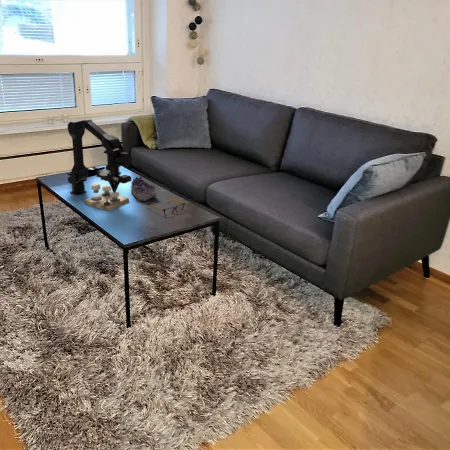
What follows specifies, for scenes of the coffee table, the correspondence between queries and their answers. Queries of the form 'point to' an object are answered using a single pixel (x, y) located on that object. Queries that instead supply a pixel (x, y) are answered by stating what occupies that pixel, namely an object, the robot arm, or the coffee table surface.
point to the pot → (107, 202)
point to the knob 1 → (95, 188)
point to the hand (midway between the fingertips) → (114, 191)
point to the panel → (101, 198)
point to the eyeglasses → (169, 208)
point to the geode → (142, 189)
